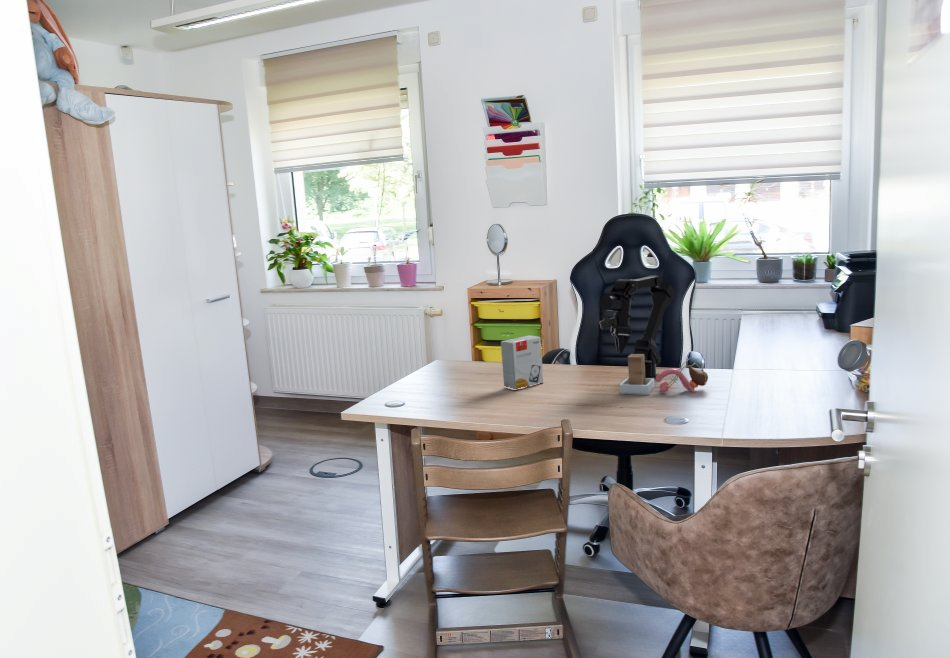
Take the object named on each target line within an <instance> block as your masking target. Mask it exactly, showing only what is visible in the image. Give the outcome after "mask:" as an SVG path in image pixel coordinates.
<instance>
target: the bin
mask: <svg viewBox="0 0 950 658" xmlns="http://www.w3.org/2000/svg"><path fill="white" fill-rule="evenodd" d="M655 384H656V383H655V379H654V378H646V385H629V377H626V378H624V380H623V381H622V382H621V383H620V384H619V391H620V395H638V396H639V395H641V396H642V395H643V396H645V395H646V396H649V395H650V394H651V393H652V391H653V390H654V389H655V386H656V385H655Z"/></svg>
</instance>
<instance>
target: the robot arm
mask: <svg viewBox="0 0 950 658" xmlns="http://www.w3.org/2000/svg"><path fill="white" fill-rule="evenodd" d="M645 288H649V292H650V293H651V294H652V295H651V301H652V304H653V305H652V308H651V310H650V311H651V312H650V314H649V317H648V320H647V324H646V327H645V330H644V333H643V336H642V338H641V339H639V338H638V339H636V341H635V345H634V346H633V354H644V359H645V378H654V380H656V376H657V374H658V373H657V365H659V363H661V359H662V357H661V355H660V354H659V353H658V351H657V350H658V346H657V343H656V339H657V335H658V333H659V331H660V326H661V325H662V320H663V317H664V314H665V312H666V309H667V308H668V307H669V306H670V305H671V303H673V300H674V297H675V295H676V291H675V289H674V287H673V286H672V285H671V284H670V283H669V282H667V281H665V280H664V279H663V278H662V277H661V275H660V276H659V275H651V274H650V275H648V276H645V277H644V276H643V277H641V278H635V279H617V280H615V283H614V284H613V286H612V288H611V289H610V291H609V292H604V295H603V296H602V297H601V299H600V301H599V305H600V308H601V309H602V310H603V311H609V312H614V314H613V316H612V317H610V318H609V317H603V319H602V320H599V321H598V322H599V326H600V327H599V328H600V330H605V329H607V328H610V334H611V335H612V336H613V338H614V343H615V349H616V350H615V351H616V352H618V353H620V354H623V352H624V350H625V348H626V347H627V345H628V342H629V341H630V339H631V336H632V335H633V329H632V327H631V325H630V319H631V316H632V315H631V305H632V304H631V303H632V302H633V301H634V302H635V298H634V297H633V294H635V293H636V292H637V291H638V290H642V289H645Z"/></svg>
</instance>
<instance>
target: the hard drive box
mask: <svg viewBox="0 0 950 658" xmlns="http://www.w3.org/2000/svg"><path fill="white" fill-rule="evenodd" d="M541 339H542V338H541V336H538V335H537V336H535V335H524V336H520V337H515V338H511V339H506V340H502V341H500V350H501V362H502V363H501V364H502V374H503V376H502V377H503V387H504V386H506V387H510V388H513V389H518V388H521V387H526V386H530V385H534V384H538V383H542V382H543V383H544V374H543V357H542V344H541V343H542V341H541Z"/></svg>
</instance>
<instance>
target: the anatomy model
mask: <svg viewBox="0 0 950 658" xmlns="http://www.w3.org/2000/svg"><path fill="white" fill-rule="evenodd" d="M691 359H693V360H695V361H696V362H697V363H696V362H693V364H689V365H685V364H686V363H688V361H689V360H691ZM698 364H699V365H698ZM684 365H685V366H684ZM694 365H696V366H698V368H696V367H693V366H694ZM684 368H688V372H689V377H690V381H689V379H688V377H687V376H685V374H684V373H683V372H682V371H683V369H684ZM656 374H657V376H656V379H655V381H656V382H657V383H660V382H661V383H660V386H659V392H660V393H661V394H664V393H667V391H669V389H670V388H671V386H672V385H674V384H675V383H676V382H677V381H678V379H679V380H680V382H681V383H680V384H682V387H684V389H685V390H687V391H691V393H693V394H696V391H695V388H698V387H699V386H700V387H704V386H706V385H707V382H708V380H709V375H708V373H707V372H706V371H704V368H703V366H702V364H701V363H700V362H699V361H698V360H697V359H696V358H695V357H693V356H691V357H689V358H688V359H687V360H685V361H684V362H683V363H682V364H681V366H680V368H679V369H677V368H667V369H665V370H663V371H661V372H657V373H656ZM670 375H675V376H673V378H670V380H671V381H670V382H668V381H664V382H662V380H663V379H664V378H665V377H667V376H670Z"/></svg>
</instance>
